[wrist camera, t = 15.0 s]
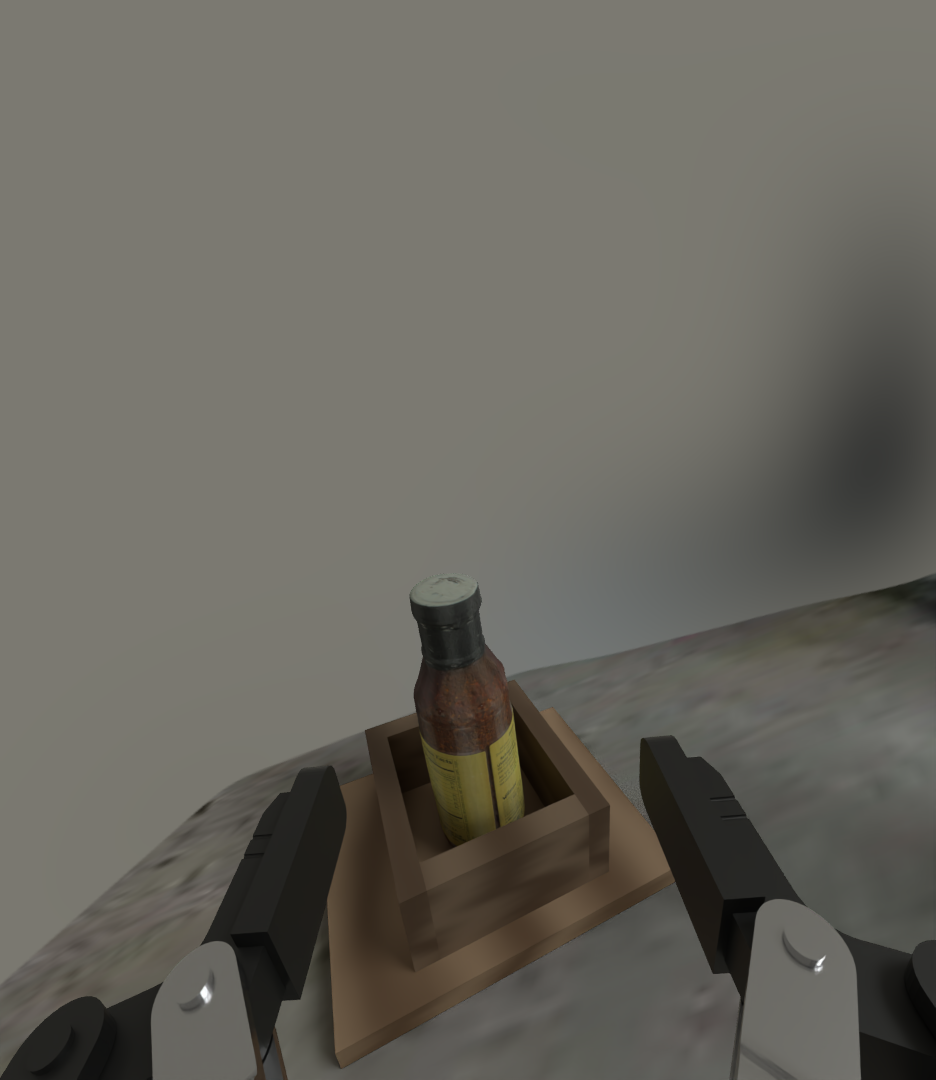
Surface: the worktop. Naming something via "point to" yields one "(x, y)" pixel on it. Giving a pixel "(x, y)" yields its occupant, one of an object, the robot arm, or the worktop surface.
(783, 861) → the worktop surface
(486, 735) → the sauce bottle
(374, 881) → the walnut caddy
